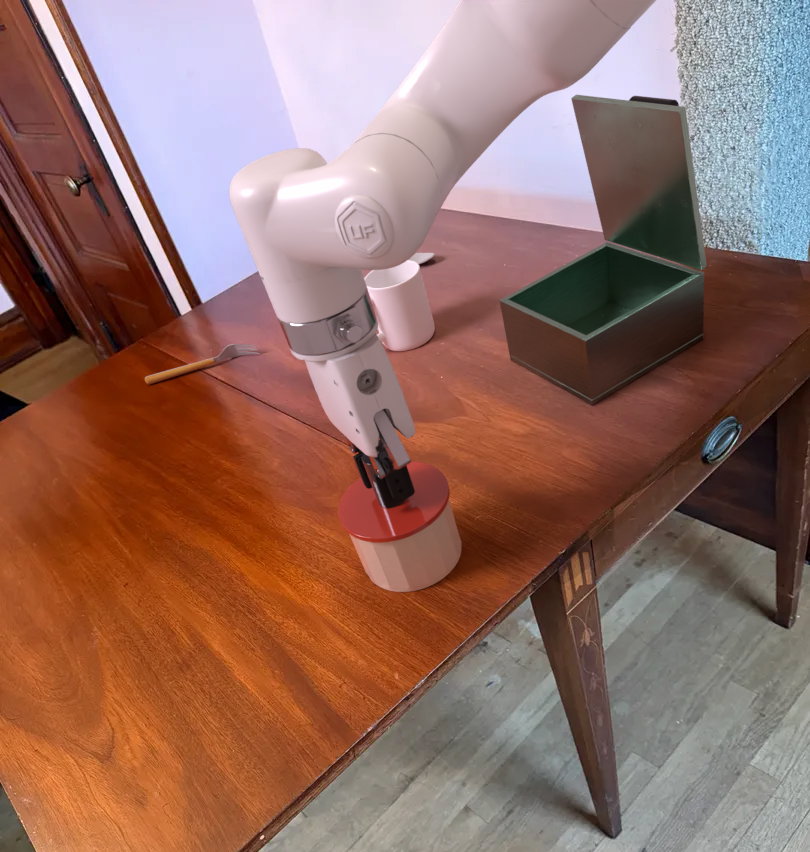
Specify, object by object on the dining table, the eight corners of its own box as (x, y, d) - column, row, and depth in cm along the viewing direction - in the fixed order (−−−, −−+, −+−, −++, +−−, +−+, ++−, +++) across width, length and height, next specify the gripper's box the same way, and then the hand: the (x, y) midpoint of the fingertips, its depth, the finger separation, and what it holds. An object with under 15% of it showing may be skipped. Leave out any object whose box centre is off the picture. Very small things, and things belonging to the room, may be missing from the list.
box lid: (679, 111, 73) (715, 83, 74) (570, 98, 85) (602, 74, 86) (701, 270, 86) (732, 246, 87) (604, 240, 98) (631, 219, 99)
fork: (141, 380, 122) (255, 344, 119) (141, 372, 123) (254, 336, 120) (149, 391, 124) (261, 355, 121) (150, 383, 125) (261, 348, 122)
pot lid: (460, 466, 76) (445, 413, 71) (439, 546, 68) (421, 491, 64) (358, 472, 79) (338, 422, 75) (328, 548, 72) (304, 497, 67)
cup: (446, 332, 110) (430, 267, 104) (379, 370, 108) (358, 306, 101) (417, 317, 116) (400, 255, 109) (352, 353, 113) (331, 291, 107)
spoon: (429, 269, 128) (427, 260, 126) (338, 266, 139) (335, 258, 138) (442, 257, 130) (440, 248, 129) (351, 255, 141) (348, 247, 140)
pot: (469, 518, 80) (454, 465, 75) (451, 592, 73) (434, 538, 68) (379, 521, 84) (359, 470, 79) (354, 592, 77) (331, 541, 72)
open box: (592, 405, 89) (585, 340, 83) (510, 359, 100) (499, 300, 95) (703, 339, 92) (704, 272, 87) (611, 302, 104) (607, 241, 98)
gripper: (418, 330, 55) (468, 511, 67) (326, 275, 67) (383, 437, 79) (331, 377, 53) (398, 554, 66) (252, 312, 65) (322, 472, 77)
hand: (389, 489), depth 72 cm, fingers open, 3 cm apart
